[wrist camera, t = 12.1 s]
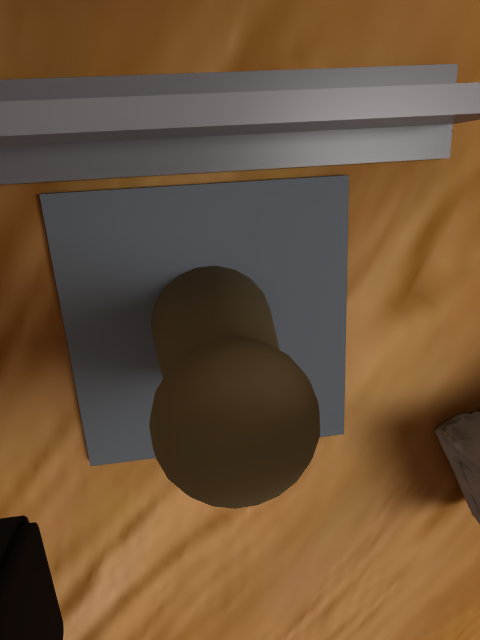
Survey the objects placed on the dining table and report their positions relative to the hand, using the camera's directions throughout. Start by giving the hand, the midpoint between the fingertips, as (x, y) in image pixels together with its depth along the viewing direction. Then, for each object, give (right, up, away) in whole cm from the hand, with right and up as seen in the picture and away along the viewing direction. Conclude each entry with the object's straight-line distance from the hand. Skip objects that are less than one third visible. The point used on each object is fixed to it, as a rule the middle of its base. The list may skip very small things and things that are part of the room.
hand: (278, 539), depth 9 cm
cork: (-2, +4, +14) cm, 15 cm away
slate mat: (-2, +4, +14) cm, 15 cm away
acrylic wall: (-2, +13, +11) cm, 17 cm away
